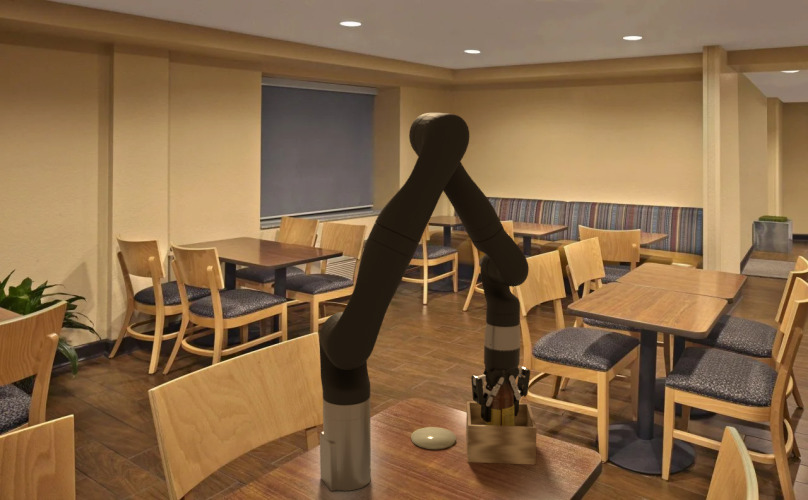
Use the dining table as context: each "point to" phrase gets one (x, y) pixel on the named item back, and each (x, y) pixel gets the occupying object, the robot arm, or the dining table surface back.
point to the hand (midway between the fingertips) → (499, 417)
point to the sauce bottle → (502, 403)
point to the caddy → (501, 438)
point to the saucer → (433, 438)
